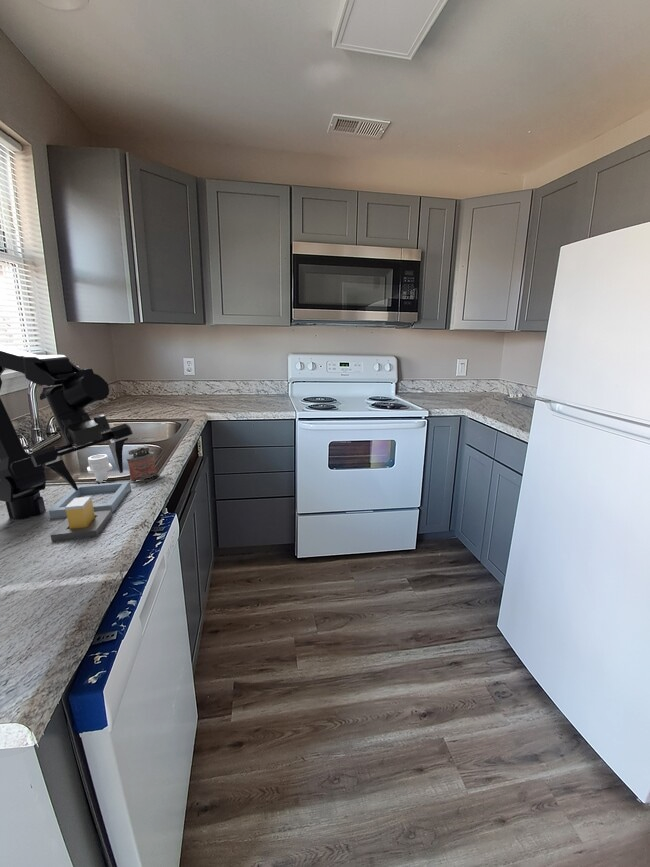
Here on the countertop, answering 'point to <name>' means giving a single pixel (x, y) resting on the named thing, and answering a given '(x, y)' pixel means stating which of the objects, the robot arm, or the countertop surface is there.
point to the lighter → (141, 463)
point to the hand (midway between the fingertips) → (100, 481)
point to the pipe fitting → (99, 466)
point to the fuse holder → (77, 533)
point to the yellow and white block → (80, 512)
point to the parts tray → (93, 489)
